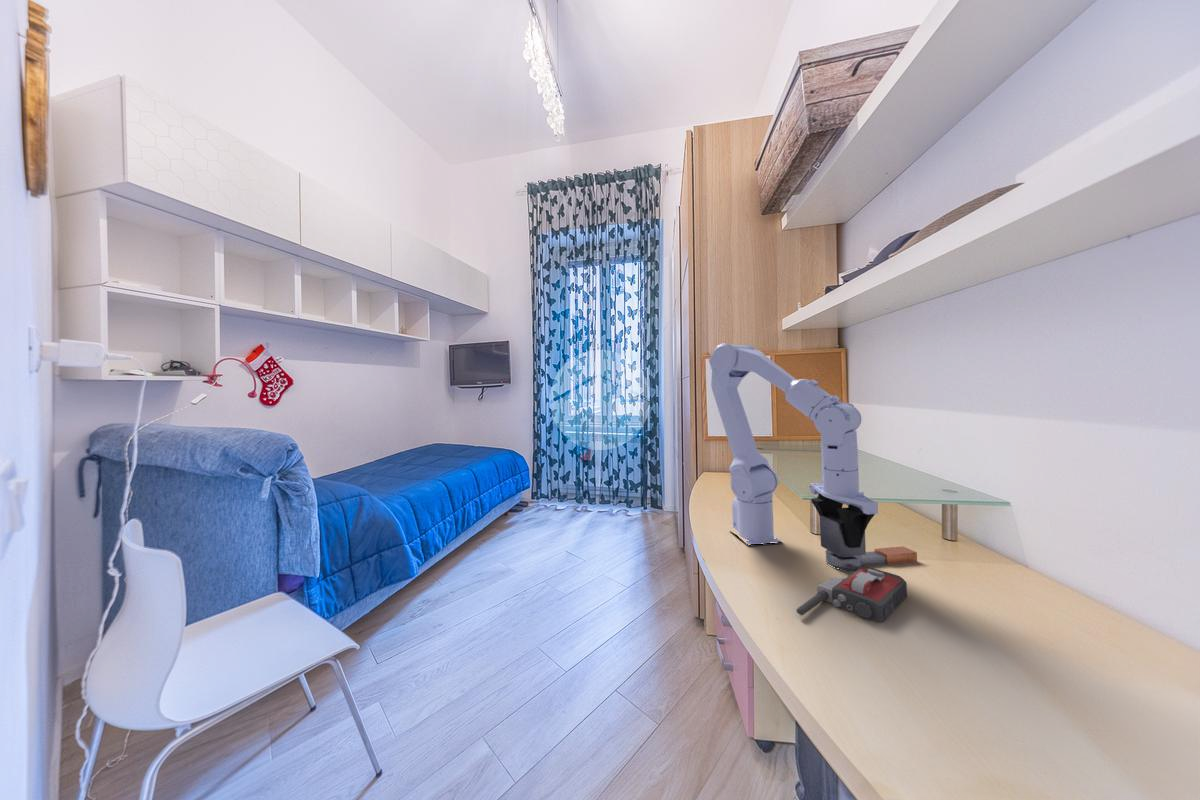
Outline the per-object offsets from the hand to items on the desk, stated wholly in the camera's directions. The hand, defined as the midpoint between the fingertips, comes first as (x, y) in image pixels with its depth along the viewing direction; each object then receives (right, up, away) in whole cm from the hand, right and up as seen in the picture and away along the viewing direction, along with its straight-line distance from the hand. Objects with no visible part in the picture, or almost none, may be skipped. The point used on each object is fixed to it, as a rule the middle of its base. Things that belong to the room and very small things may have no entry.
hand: (842, 541), depth 70 cm
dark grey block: (0, -2, 0) cm, 2 cm away
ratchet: (+6, -4, 0) cm, 7 cm away
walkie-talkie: (-7, -5, -13) cm, 15 cm away
